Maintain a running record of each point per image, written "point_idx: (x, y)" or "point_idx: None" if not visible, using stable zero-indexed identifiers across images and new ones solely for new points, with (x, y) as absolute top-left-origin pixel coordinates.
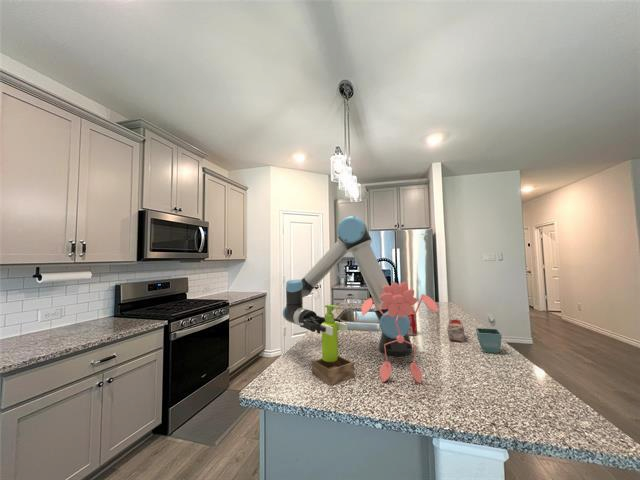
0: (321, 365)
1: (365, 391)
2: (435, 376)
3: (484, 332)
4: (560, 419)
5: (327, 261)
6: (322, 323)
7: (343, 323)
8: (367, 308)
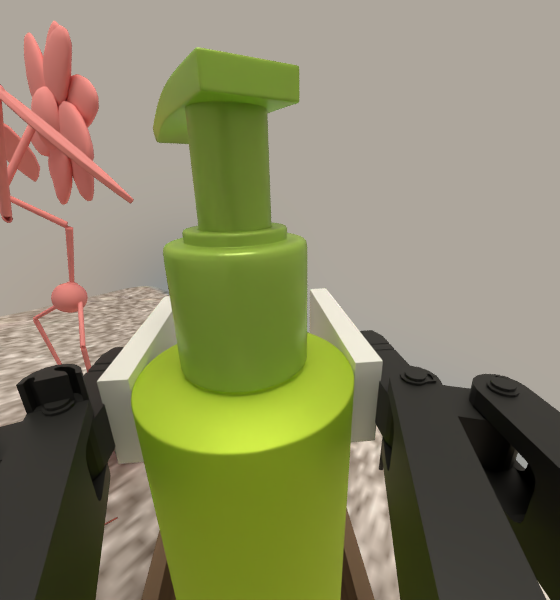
0: (365, 595)
1: None
2: (6, 409)
3: None
4: (111, 304)
5: None
6: (338, 392)
7: (153, 313)
8: (88, 160)
